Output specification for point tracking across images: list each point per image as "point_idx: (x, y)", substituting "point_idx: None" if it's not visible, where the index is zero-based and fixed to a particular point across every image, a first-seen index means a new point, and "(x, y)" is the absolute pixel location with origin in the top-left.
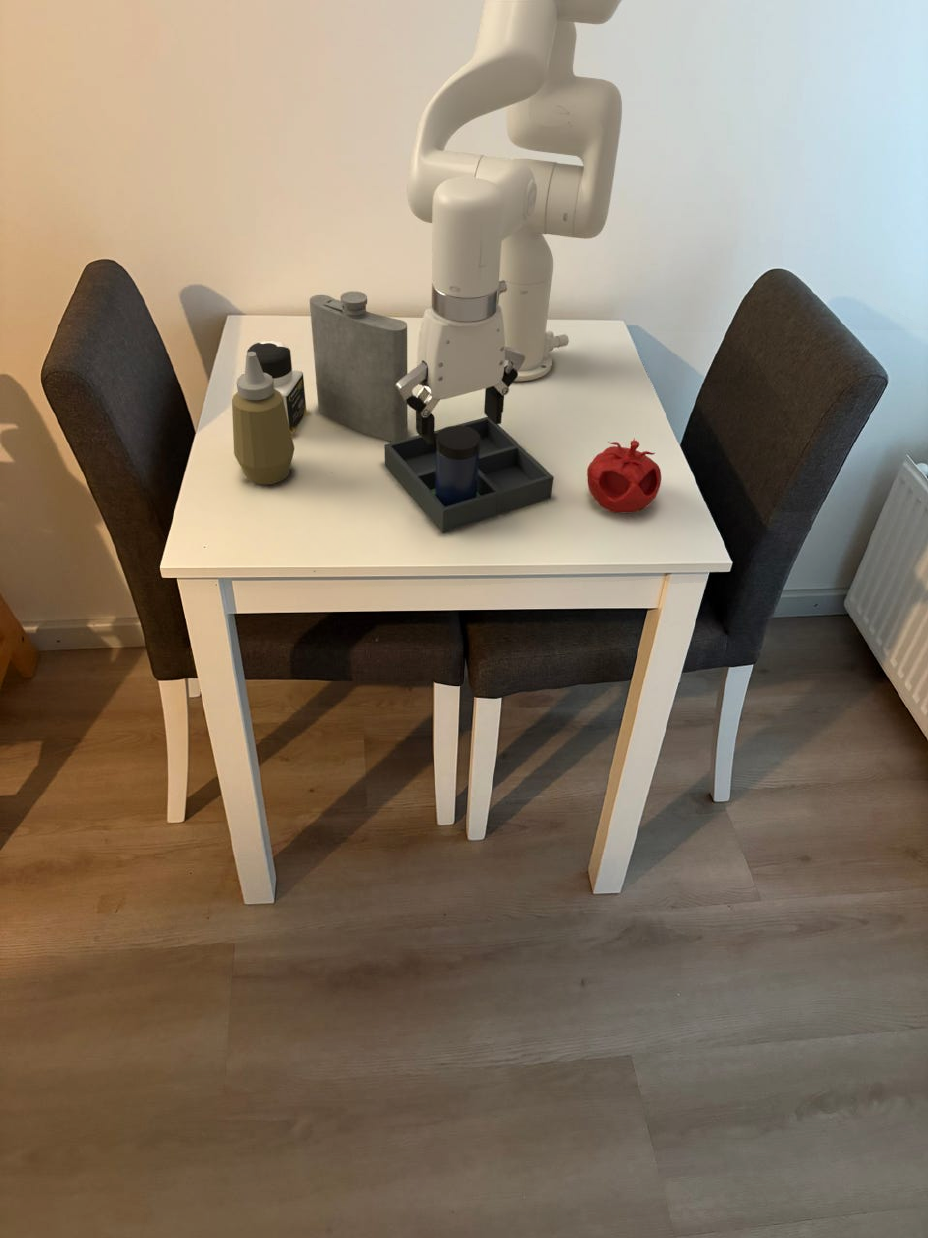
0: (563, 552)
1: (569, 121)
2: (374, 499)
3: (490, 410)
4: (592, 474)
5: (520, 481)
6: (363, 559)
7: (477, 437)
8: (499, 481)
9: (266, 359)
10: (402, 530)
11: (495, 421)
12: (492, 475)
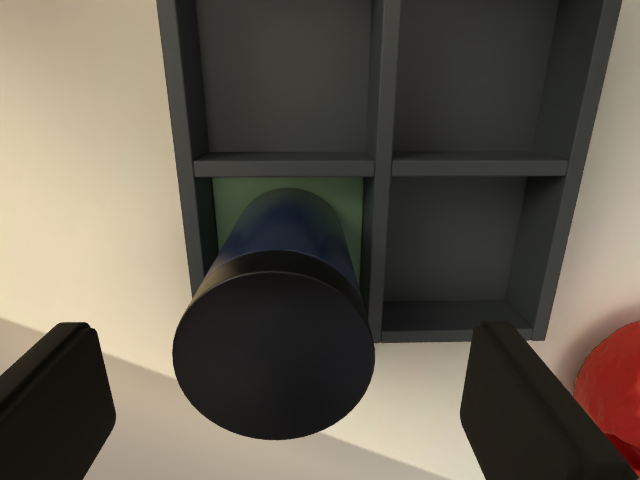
0: (410, 443)
1: None
2: (95, 114)
3: (486, 408)
4: (620, 414)
5: (489, 234)
6: (11, 313)
7: (352, 391)
8: (442, 210)
9: None
10: (129, 263)
11: (464, 425)
12: (442, 179)
